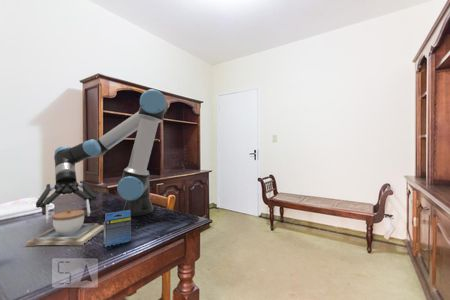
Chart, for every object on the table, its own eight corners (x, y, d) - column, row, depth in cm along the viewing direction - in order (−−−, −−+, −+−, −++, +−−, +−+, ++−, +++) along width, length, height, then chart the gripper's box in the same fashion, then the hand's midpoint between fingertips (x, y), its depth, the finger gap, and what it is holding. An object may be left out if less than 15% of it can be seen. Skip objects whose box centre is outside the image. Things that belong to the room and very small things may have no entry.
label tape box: (128, 238, 91) (128, 207, 90) (131, 241, 87) (130, 209, 87) (103, 243, 85) (103, 211, 85) (105, 247, 82) (105, 213, 82)
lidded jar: (73, 237, 87) (73, 213, 87) (45, 237, 87) (44, 213, 87) (90, 227, 98) (90, 205, 97) (65, 227, 98) (65, 205, 97)
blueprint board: (104, 228, 101) (104, 222, 101) (82, 245, 84) (82, 238, 84) (57, 229, 100) (57, 223, 100) (25, 246, 83) (25, 239, 83)
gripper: (96, 178, 112) (103, 216, 100) (29, 183, 96) (27, 229, 85) (98, 168, 107) (105, 207, 96) (28, 172, 92) (26, 219, 80)
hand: (69, 217), depth 90 cm, fingers open, 13 cm apart
